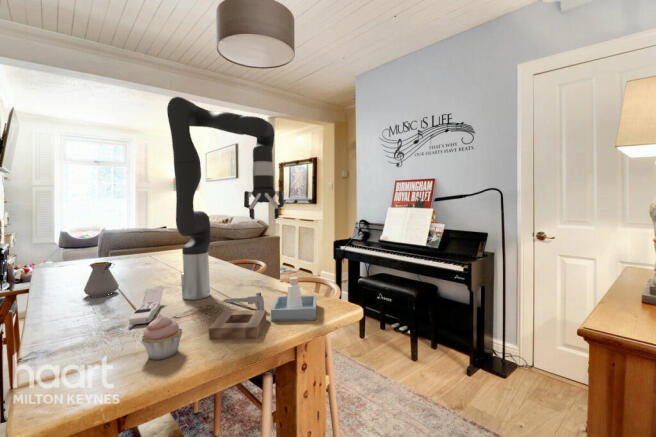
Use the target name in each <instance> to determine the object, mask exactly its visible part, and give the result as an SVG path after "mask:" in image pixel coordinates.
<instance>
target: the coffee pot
mask: <svg viewBox="0 0 656 437" xmlns="http://www.w3.org/2000/svg"><path fill="white" fill-rule="evenodd" d="M112 264H113V265H114V262H110V261H100V262H99V261H98V262H93V263H90V264H89V267H90V268H91V269H92V270H91V272H90V275H89V277H88V279H87V282H86V283H85V286H84V289H83V292H84V293H85V294H86V295H87V296H93V297H92V298H99V297H98V296H104V297H106V296H105V295H108V294H111V293H113V292H114V293H115V292H116V291H117V290H118V289H119V287H120V286H119V283H118V282H117V280H116V279H115V277H114V275H113V273H112V272H111V270H110V269H112V268H114V266H112ZM111 266H112V267H111ZM114 293H113V294H114ZM111 295H112V294H111ZM108 296H109V295H108Z"/></svg>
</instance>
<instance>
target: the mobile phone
mask: <svg viewBox="0 0 656 437" xmlns="http://www.w3.org/2000/svg"><path fill="white" fill-rule="evenodd" d="M164 289H165V288H164V286H162V287H161V286H160V287H151V288H146V289H145V292H144V296H143V300H142V304H141V305H140V306H138V308H136V310H135V311H133V313H132V314H130V317H129V319H128V323H129V325H128V329H132V328H134V326H135V325H140V324H148V323H151V322H152V321H153V320H154V317H155V316H154V315H157V313H158V310H159V308H160V306H161V304H160V303H161V300H162V296H163V292H164ZM152 319H153V320H152ZM151 320H152V321H151Z"/></svg>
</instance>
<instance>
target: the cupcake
mask: <svg viewBox="0 0 656 437" xmlns="http://www.w3.org/2000/svg"><path fill="white" fill-rule="evenodd" d="M179 325H180V324H179V323H178V322H177V321H176V320H175V319H173V318H171V317H169V316H168V315H165V314H162V313H160V314H158V317H157V318H155V319H153V320H152V321H150V322H149V324H148V325H147V326H146V327H145V329H144V330H143V335H142V336H140V337H141V339H140V343H141V344H142V345H143V346H144V348H145V351H146V353H147V356H148V358H149V359H151V360H157V361H158V360H164V359H167V358H168V359H169V358H170V357H172V356H175V354H177V352H178V350H179V346H180V341H181V338H182V336H183V333H184V331H183V328H180V326H179Z"/></svg>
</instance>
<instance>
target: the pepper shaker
mask: <svg viewBox="0 0 656 437" xmlns="http://www.w3.org/2000/svg"><path fill="white" fill-rule="evenodd" d="M287 286H288V288H287V295H286V296H287V309H294V308H303V307H302V300H301V296H302V291H301V287H300V286H301V285H300V284H299V277H296V276H291V277H290V278H289V284H288V285H287Z"/></svg>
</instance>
